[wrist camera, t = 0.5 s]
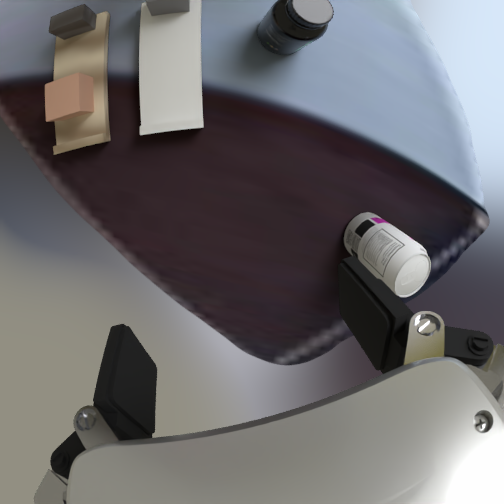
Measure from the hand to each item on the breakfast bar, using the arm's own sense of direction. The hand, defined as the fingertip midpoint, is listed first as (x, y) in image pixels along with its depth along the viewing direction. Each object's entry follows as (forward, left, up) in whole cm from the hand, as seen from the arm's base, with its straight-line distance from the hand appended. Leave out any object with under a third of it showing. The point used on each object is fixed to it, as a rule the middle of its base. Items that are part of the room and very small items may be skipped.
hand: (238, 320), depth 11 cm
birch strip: (-17, -17, -29) cm, 38 cm away
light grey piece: (-17, -4, -29) cm, 34 cm away
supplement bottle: (-21, +11, -30) cm, 38 cm away
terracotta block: (-14, -17, -27) cm, 35 cm away
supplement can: (+11, +26, -30) cm, 41 cm away
